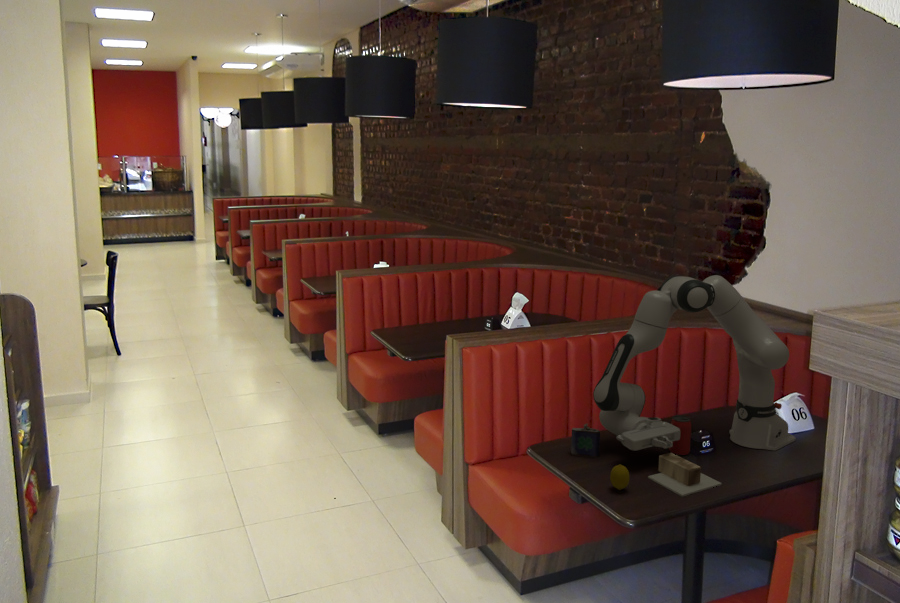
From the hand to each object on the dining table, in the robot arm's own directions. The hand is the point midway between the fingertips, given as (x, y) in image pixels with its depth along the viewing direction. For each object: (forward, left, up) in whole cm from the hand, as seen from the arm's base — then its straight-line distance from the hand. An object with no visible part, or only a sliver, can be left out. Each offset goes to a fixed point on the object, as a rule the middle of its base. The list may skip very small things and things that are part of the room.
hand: (669, 445), depth 219 cm
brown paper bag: (0, -2, -6) cm, 6 cm away
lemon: (+21, +2, -9) cm, 23 cm away
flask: (+14, -23, -9) cm, 29 cm away
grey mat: (0, +7, -9) cm, 11 cm away
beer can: (-15, -10, -9) cm, 20 cm away
